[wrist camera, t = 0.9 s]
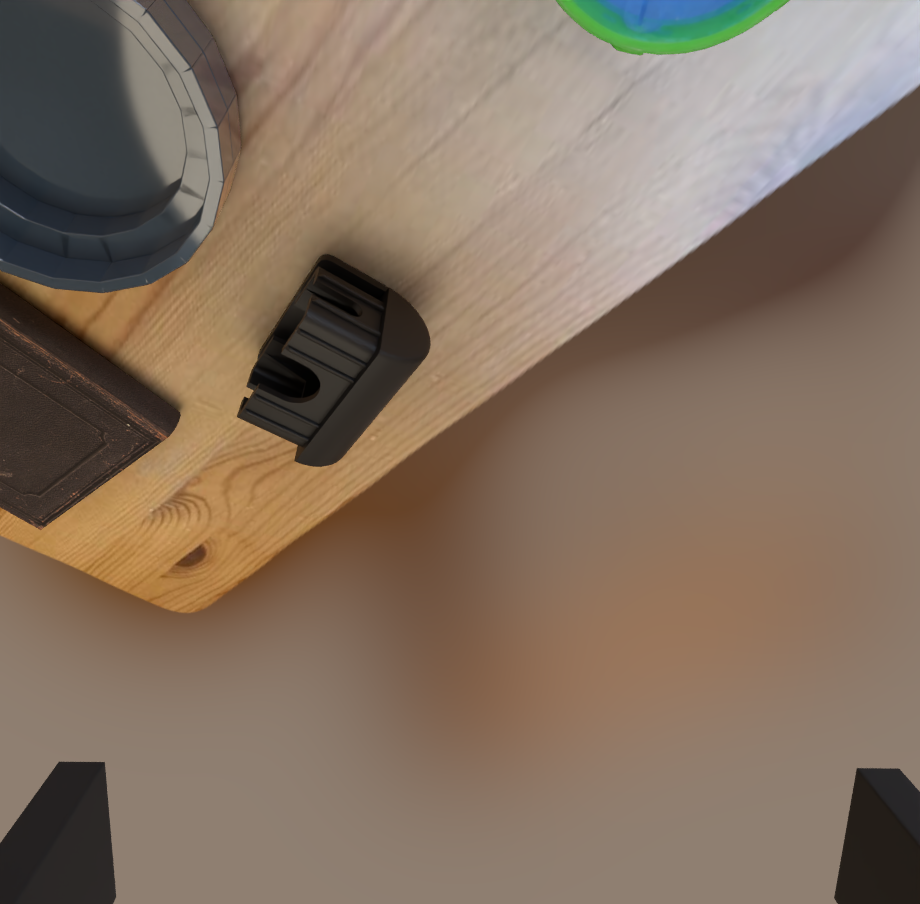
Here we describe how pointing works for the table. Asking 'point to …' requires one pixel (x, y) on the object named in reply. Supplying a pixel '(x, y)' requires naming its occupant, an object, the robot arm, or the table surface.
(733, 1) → the snack cup
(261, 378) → the end cap
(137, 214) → the bowl
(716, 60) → the table surface
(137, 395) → the hardcover book
